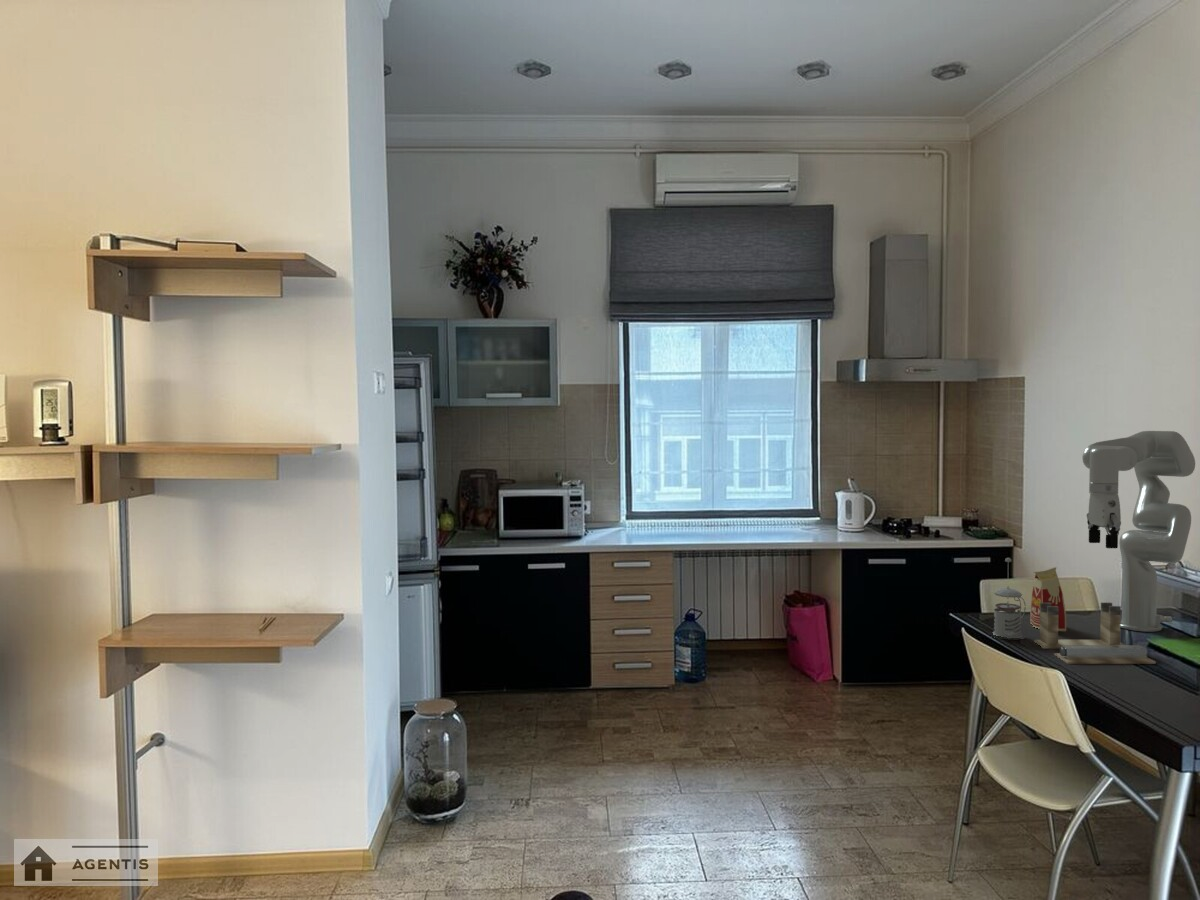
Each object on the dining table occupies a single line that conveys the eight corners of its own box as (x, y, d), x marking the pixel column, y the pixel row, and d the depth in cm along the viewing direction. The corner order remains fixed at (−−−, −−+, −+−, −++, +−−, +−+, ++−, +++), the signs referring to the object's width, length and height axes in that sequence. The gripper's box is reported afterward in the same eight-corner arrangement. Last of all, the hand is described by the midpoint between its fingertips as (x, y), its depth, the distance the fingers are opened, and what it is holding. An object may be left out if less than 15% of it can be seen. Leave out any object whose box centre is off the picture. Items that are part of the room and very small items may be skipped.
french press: (983, 634, 272) (984, 556, 270) (1010, 629, 276) (1010, 553, 275) (1009, 642, 263) (1009, 561, 261) (1036, 637, 267) (1037, 558, 266)
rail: (1143, 655, 245) (1143, 645, 245) (1149, 658, 242) (1149, 648, 242) (1058, 655, 246) (1058, 645, 246) (1063, 658, 243) (1064, 648, 243)
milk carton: (1055, 624, 283) (1056, 564, 282) (1067, 631, 274) (1068, 569, 272) (1026, 623, 284) (1027, 564, 283) (1038, 631, 274) (1038, 569, 273)
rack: (1114, 642, 260) (1115, 602, 259) (1125, 648, 254) (1126, 606, 253) (1034, 642, 261) (1034, 602, 261) (1043, 648, 255) (1043, 607, 255)
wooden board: (1139, 655, 247) (1139, 653, 247) (1155, 663, 239) (1155, 661, 239) (1054, 655, 248) (1054, 653, 248) (1067, 663, 240) (1067, 661, 240)
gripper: (1132, 491, 247) (1132, 550, 248) (1101, 485, 264) (1100, 540, 265) (1106, 491, 247) (1105, 550, 248) (1076, 486, 265) (1075, 540, 265)
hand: (1102, 545), depth 257 cm, fingers open, 9 cm apart
